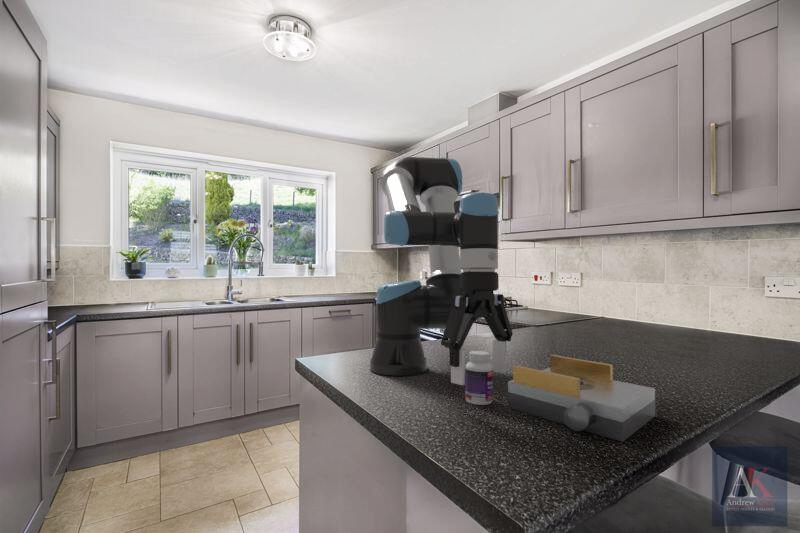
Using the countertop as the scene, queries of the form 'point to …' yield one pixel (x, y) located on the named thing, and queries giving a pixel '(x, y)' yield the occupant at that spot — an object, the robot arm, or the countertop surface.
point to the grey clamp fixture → (582, 397)
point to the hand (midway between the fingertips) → (479, 377)
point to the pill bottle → (479, 379)
